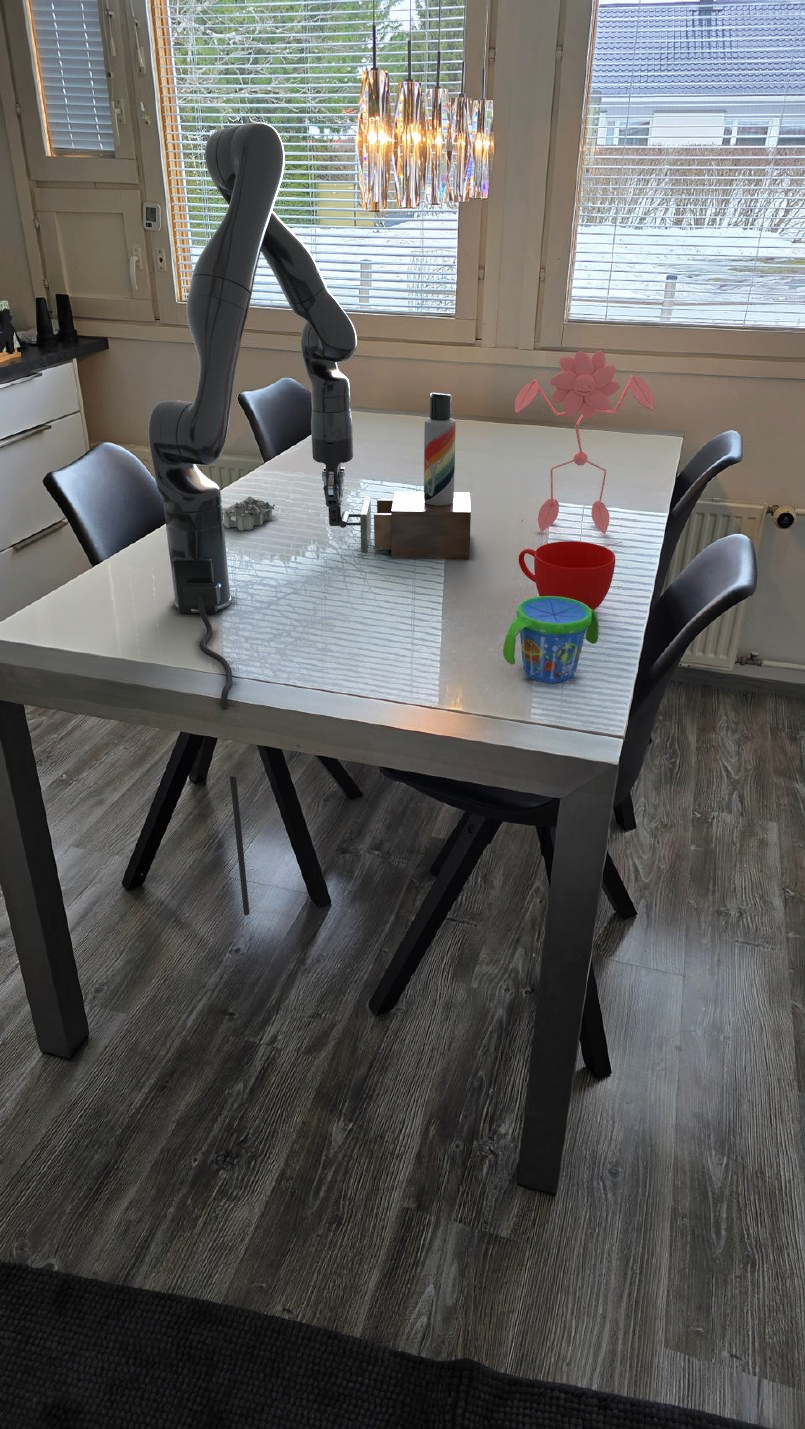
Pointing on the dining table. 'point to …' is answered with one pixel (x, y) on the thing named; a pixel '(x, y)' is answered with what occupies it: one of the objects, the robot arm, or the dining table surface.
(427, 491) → the lotion bottle
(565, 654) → the snack cup
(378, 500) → the drawer
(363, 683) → the dining table surface
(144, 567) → the dining table surface
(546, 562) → the ceramic cup
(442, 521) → the cabinet
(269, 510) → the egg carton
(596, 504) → the figurine
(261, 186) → the robot arm
